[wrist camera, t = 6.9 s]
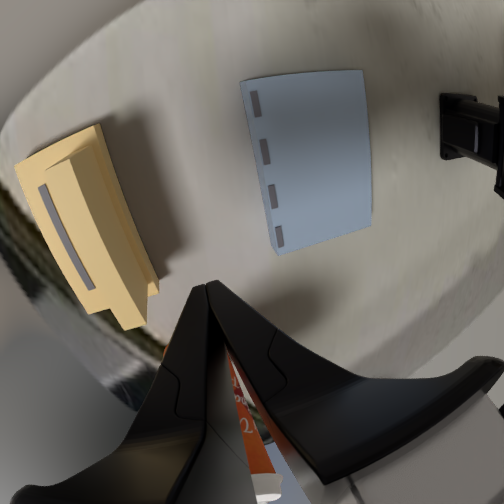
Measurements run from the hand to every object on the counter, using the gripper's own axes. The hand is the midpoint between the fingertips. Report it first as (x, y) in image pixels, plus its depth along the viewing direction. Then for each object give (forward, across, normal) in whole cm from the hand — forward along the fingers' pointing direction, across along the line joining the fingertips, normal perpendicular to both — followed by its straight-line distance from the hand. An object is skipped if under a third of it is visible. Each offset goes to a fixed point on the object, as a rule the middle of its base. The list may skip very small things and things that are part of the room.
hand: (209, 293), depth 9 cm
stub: (+11, +7, 0) cm, 13 cm away
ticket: (+11, -9, 0) cm, 14 cm away
